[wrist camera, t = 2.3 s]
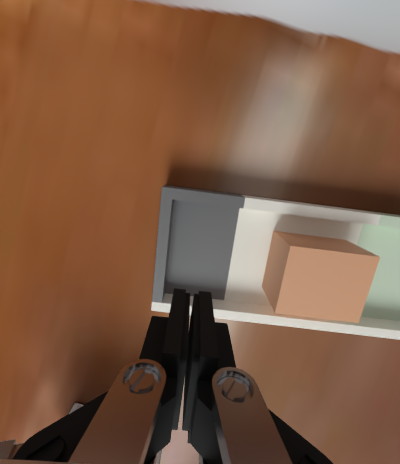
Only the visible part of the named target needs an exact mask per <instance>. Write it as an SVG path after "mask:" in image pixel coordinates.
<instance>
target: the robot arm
mask: <svg viewBox="0 0 400 464" xmlns="http://www.w3.org/2000/svg"><path fill="white" fill-rule="evenodd" d="M189 312H190V293H186V289H178V288H174V291H173V297H172V302H171V308H170V313H169V318H168V317H158V316H152V318H151V321H150V324H149V328H148V331H147V335H146V338H145V341H144V345H143V348H142V351H141V355H140V358H139V360H135V361H132V362H130V363H128V364H127V365H125V366H124V367H123V368H122V369H121V371H120V372H119V374H118V375H117V377H116V379H115V381H114V382H113V384H112V386H111V388H110V389H109V391H108V392H106V393H104V394H102V395H101V396H99V397H97V398H96V399H94V400H92V401H90V402H89V403H87V404H85V405H84V406H82V407H80V408H79V409H77V410H75V411H73V412H72V413H70V414H68V415H67V416H65V417H63V418H61V419H60V420H58V421H56V422H55V423H53V424H51V425H50V426H48V427H46V428H44V429H43V430H41V431H39V432H38V433H36V434H35V435H33V436H32V437H31V438H29V439H28V440H27V441H26V442H25V443H21V444H16V439H15V440H8V441H2V442H0V464H156V461H157V454H158V452H159V451H160V450H161V449H163V448H164V447H165V446H166V445H167V444H168V443H169V442H170V439H171V431H172V430H177V429H178V422H179V414H180V407H181V400H182V392H183V385H184V377H185V388H184V407H183V426H182V430H185V431H188V443H191V444H192V446H193V447H194V448H195V449H196V450H197V452H198V453H199V464H333V463H332V462H331V461H330V460H329V459H328V458H327V457H326V456H325V455H324V454H323V453H321V452H320V451H319V450H318V449H317V448H315V447H314V446H313V445H312V444H310V443H309V442H308V441H307V440H306V439H304V438H303V437H302V436H301V435H299V434H298V433H297V432H296V431H295V430H293V429H292V428H291V427H290V426H289V425H287V424H286V423H285V422H284V421H282V420H281V419H280V418H279V417H278V416H276V415H275V414H274V413H273V412H271V411H270V410H269V409H268V408H267V405H266V403H265V401H264V399H263V396H262V394H261V392H260V390H259V387H258V385H257V383H256V382H255V380H254V379H253V378H252V377H251V376H250V375H249V374H248V373H247V372H245V371H243V370H241V369H238V368H236V365H235V360H234V355H233V350H232V345H231V340H230V335H229V330H228V325H227V324H226V323H217V322H215V320H214V312H213V303H212V295H211V292H206V291H199V293H198V294H194V297H193V304H192V312H191V319H190V327H189ZM188 333H189V334H188Z"/></svg>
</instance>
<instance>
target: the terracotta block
mask: <svg viewBox="0 0 400 464" xmlns="http://www.w3.org/2000/svg"><path fill="white" fill-rule="evenodd" d="M379 260H380V257H379V256H377V255H375V254H373V253H371V252H369V251H367V250H365V249H363V248H361V247H359V246H357V245H355V244H353V243H351V242H349V241H347V240H343V239H335V238H327V237H319V236H311V235H303V234H295V233H287V232H279V231H273V234H272V239H271V244H270V249H269V254H268V258H267V263H266V268H265V273H264V278H263V282H262V288H263V290H264V292H265V294H266V296H267V298H268V300H269V302H270V304H271V306H272V308H273V310H274V312H275V313H277V314H286V315H294V316H303V317H311V318H320V319H328V320H337V321H345V322H354V323H359V320H360V317H361V314H362V311H363V308H364V305H365V302H366V299H367V296H368V293H369V290H370V287H371V284H372V281H373V278H374V275H375V272H376V269H377V266H378V263H379Z"/></svg>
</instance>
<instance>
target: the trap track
mask: <svg viewBox="0 0 400 464" xmlns="http://www.w3.org/2000/svg"><path fill="white" fill-rule="evenodd" d="M273 231H279V232H287V233H295V234H303V235H311V236H319V237H327V238H335V239H343V240H347V241H349V242H351V243H353V244H355V245H357V246H359V247H361V248H363V249H365V250H367V251H369V252H371V253H373V254H375V255H377V256H379V257H380V260H379V263H378V266H377V269H376V272H375V275H374V278H373V281H372V284H371V287H370V290H369V293H368V296H367V299H366V302H365V305H364V308H363V311H362V314H361V317H360V320H359V323H354V322H345V321H337V320H328V319H320V318H311V317H303V316H294V315H286V314H277V313H275V312H274V310H273V308H272V306H271V304H270V302H269V300H268V298H267V296H266V294H265V292H264V290H263V288H262V282H263V278H264V273H265V268H266V263H267V258H268V254H269V249H270V244H271V239H272V234H273ZM174 288H178V289H186V293H190V312H189V315H191V312H192V304H193V297H194V294H198V293H199V291H206V292H211V295H212V303H213V312H214V318H219V319H228V320H237V321H245V322H254V323H262V324H271V325H279V326H288V327H297V328H305V329H314V330H322V331H331V332H339V333H348V334H357V335H365V336H374V337H382V338H391V339H400V215H395V214H387V213H380V212H372V211H364V210H356V209H349V208H341V207H333V206H325V205H318V204H310V203H302V202H294V201H287V200H279V199H271V198H263V197H255V196H248V195H240V194H232V193H224V192H217V191H209V190H201V189H193V188H186V187H178V186H170V185H165V186H163V187H162V192H161V204H160V215H159V227H158V239H157V250H156V262H155V273H154V285H153V296H152V308H151V311H159V312H168V313H170V308H171V302H172V297H173V291H174Z"/></svg>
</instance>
